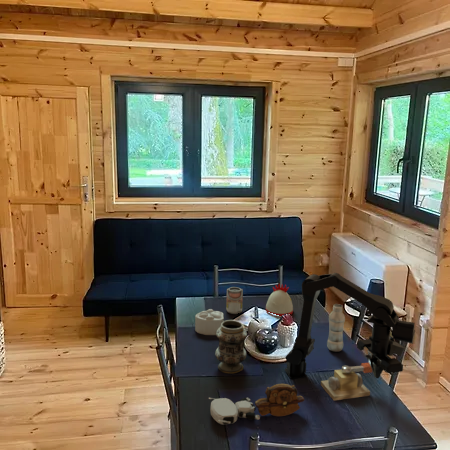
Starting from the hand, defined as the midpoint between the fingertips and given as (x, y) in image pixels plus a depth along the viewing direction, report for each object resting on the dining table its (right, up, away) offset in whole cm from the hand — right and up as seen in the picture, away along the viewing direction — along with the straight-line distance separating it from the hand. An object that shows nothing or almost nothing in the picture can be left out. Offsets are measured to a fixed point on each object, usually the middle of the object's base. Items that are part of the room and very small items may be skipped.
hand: (376, 377), depth 152 cm
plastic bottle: (-6, 0, +35) cm, 35 cm away
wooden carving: (-35, -9, -9) cm, 37 cm away
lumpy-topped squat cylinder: (-60, +4, +51) cm, 79 cm away
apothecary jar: (-50, -3, +19) cm, 54 cm away
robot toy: (-50, -9, -10) cm, 52 cm away
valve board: (-10, -6, +6) cm, 13 cm away
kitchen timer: (-25, +8, +75) cm, 79 cm away
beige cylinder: (-48, +8, +73) cm, 87 cm away
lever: (-6, 0, +5) cm, 8 cm away
